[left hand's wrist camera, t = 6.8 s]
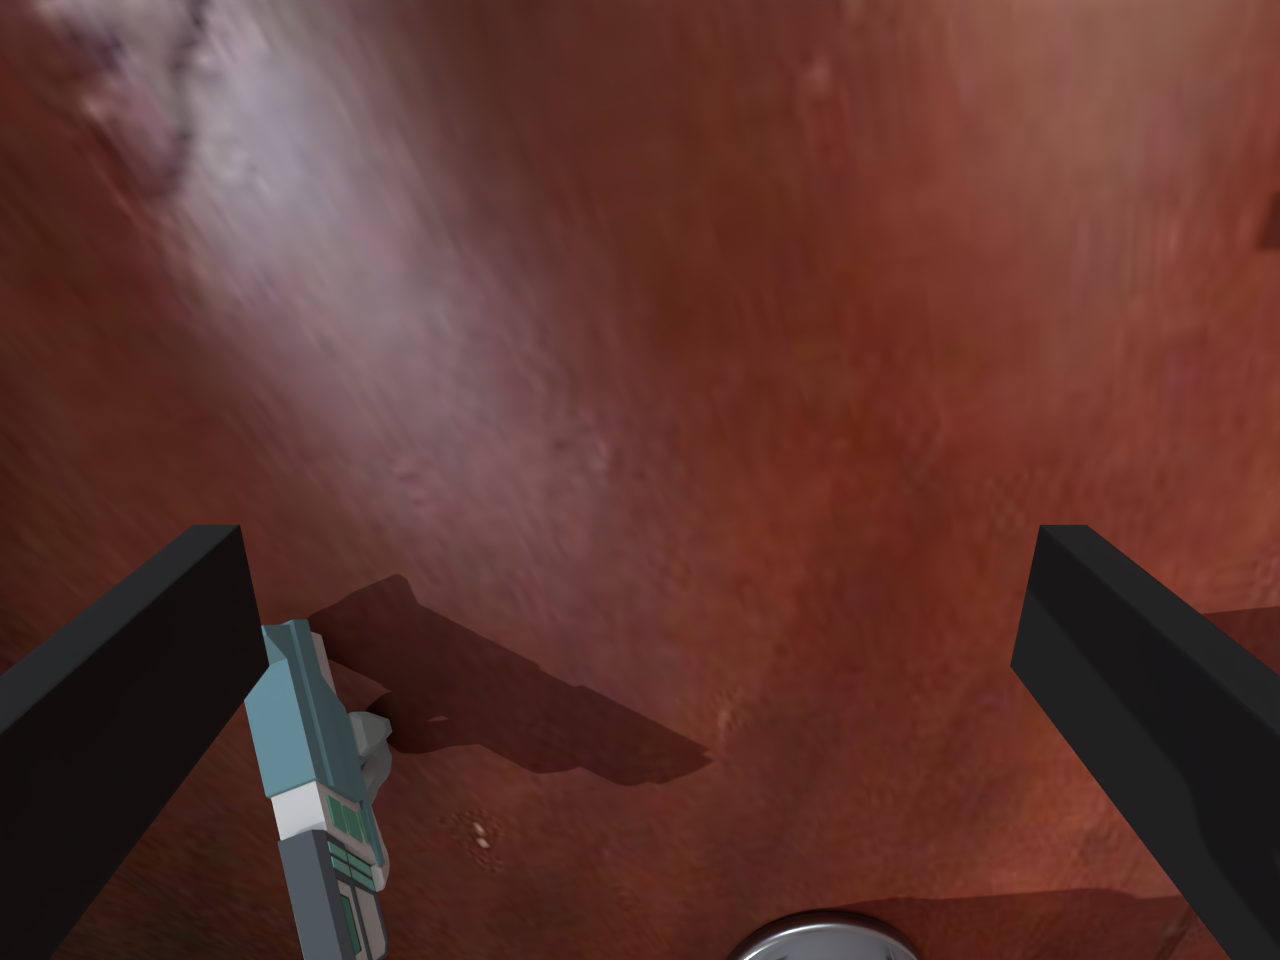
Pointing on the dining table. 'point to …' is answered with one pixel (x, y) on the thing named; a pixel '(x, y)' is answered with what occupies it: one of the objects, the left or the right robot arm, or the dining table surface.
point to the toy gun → (322, 795)
